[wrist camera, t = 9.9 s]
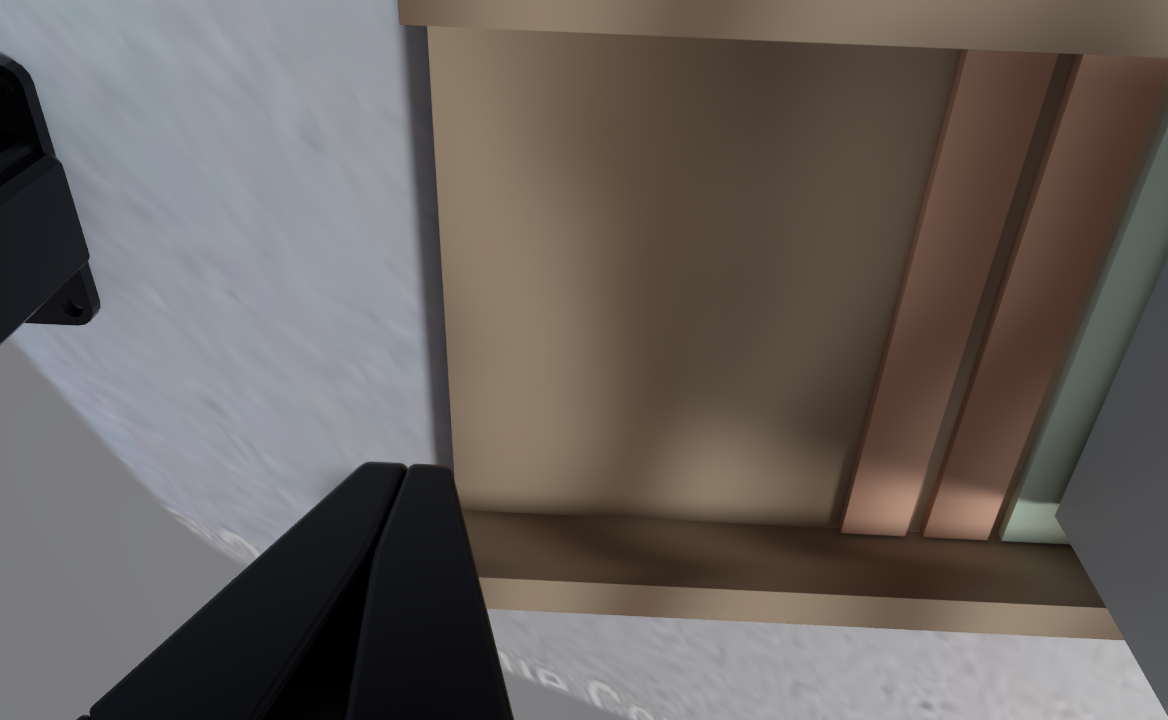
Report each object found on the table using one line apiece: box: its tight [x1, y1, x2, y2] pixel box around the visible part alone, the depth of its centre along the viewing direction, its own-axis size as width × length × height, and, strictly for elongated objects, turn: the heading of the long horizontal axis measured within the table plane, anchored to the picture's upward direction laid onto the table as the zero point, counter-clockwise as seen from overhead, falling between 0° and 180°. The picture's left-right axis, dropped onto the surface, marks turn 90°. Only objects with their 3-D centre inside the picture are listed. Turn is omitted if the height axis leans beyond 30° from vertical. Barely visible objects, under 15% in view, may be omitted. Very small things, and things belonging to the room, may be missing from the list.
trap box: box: [398, 0, 1168, 640], centre depth 20 cm, size 23×16×5 cm
